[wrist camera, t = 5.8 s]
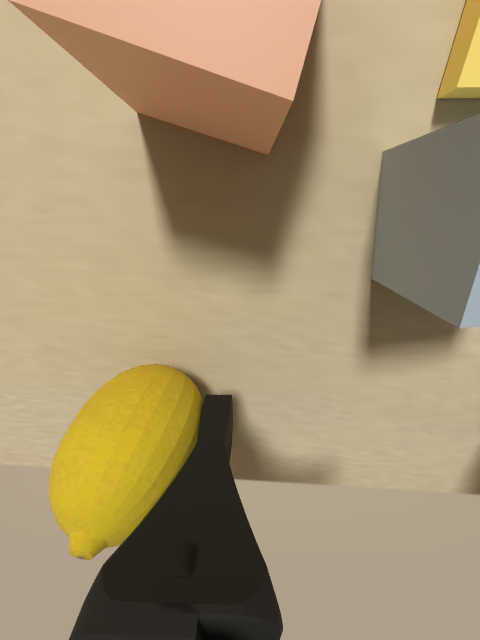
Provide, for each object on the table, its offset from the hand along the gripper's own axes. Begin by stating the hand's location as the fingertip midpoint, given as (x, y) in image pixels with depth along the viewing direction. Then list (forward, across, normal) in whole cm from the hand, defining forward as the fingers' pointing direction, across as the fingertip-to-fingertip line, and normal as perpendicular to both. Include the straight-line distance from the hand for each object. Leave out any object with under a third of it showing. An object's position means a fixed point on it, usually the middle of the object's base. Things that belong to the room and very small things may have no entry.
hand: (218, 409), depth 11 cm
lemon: (+3, +3, 0) cm, 4 cm away
